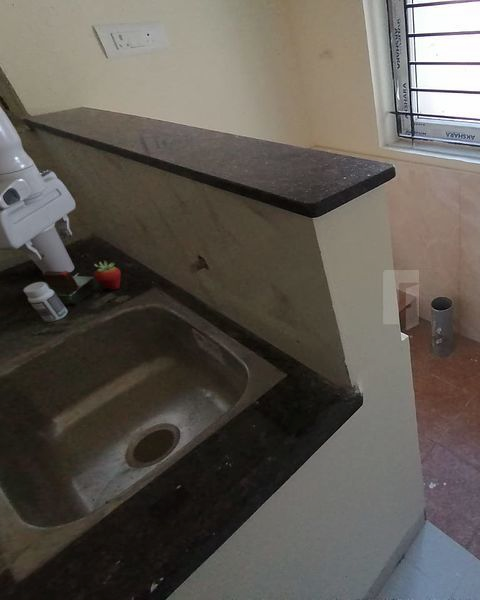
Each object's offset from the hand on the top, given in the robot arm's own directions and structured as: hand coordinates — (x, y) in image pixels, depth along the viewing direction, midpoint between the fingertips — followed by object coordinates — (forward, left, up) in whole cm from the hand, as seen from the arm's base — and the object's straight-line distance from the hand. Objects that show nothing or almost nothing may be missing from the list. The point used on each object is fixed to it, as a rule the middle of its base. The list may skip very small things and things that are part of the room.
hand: (53, 247), depth 82 cm
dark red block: (-8, +9, -14) cm, 18 cm away
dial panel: (-8, +9, -17) cm, 21 cm away
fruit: (+3, +8, -17) cm, 19 cm away
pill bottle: (-8, 0, -17) cm, 19 cm away
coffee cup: (-15, +22, -17) cm, 32 cm away
